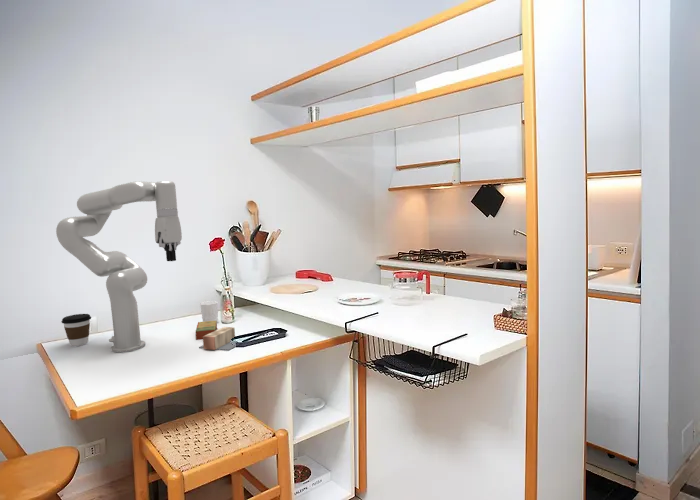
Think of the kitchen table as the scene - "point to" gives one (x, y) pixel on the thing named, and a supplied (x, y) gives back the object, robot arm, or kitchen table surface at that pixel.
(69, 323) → the coffee cup
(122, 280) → the robot arm
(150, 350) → the kitchen table surface
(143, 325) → the kitchen table surface
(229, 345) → the rubber mat
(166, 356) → the kitchen table surface
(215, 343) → the wood block
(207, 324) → the carton
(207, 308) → the white cup
